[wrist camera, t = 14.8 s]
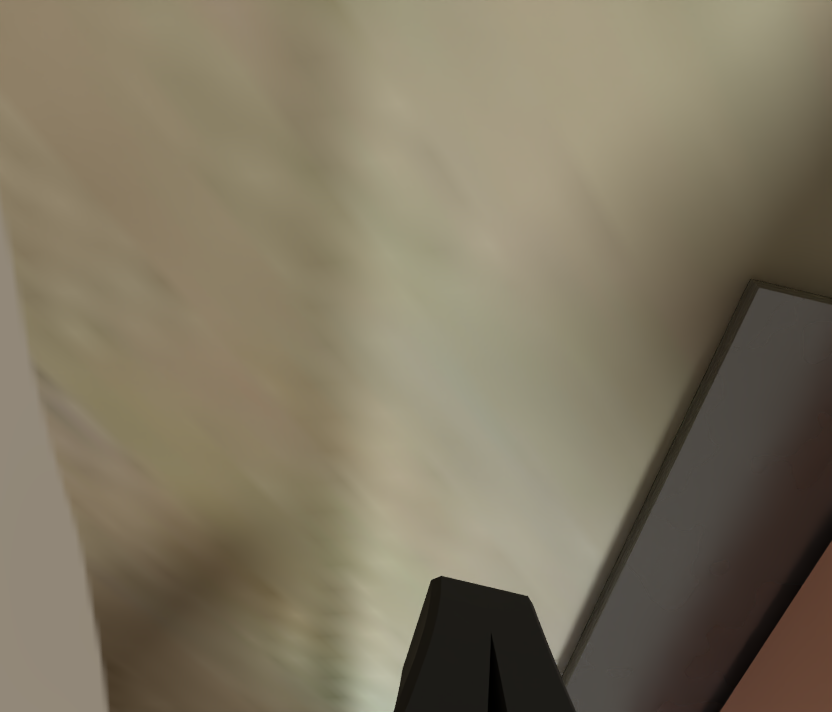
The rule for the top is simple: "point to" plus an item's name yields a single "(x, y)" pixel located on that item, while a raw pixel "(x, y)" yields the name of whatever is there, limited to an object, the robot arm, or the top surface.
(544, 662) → the robot arm
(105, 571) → the top surface
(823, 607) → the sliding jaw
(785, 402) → the vise bed
